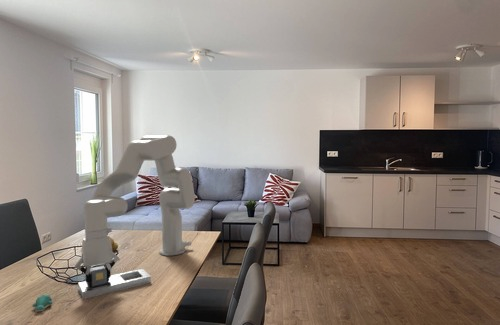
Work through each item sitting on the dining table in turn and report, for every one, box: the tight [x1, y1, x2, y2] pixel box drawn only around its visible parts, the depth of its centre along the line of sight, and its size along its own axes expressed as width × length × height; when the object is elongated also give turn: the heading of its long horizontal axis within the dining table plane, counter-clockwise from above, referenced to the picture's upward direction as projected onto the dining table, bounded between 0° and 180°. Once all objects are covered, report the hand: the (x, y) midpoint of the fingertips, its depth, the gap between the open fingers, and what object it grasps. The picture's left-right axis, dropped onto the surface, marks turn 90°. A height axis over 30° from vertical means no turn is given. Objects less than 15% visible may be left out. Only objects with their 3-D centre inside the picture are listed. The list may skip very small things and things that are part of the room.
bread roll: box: [110, 237, 119, 252], centre depth 170 cm, size 13×10×8 cm
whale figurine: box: [32, 294, 53, 313], centre depth 114 cm, size 6×7×4 cm
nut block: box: [89, 265, 107, 289], centre depth 127 cm, size 5×5×8 cm
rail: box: [77, 268, 152, 300], centre depth 130 cm, size 24×10×2 cm, turn 125°
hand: (98, 281), depth 127 cm, fingers open, 5 cm apart
